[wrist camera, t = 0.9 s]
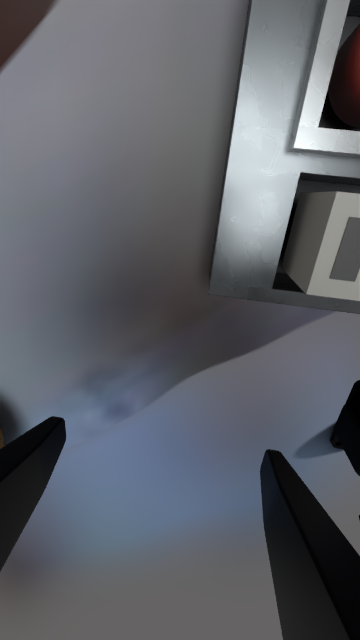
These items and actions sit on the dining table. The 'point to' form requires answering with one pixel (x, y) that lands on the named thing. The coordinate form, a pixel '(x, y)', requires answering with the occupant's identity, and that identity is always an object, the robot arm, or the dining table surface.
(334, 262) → the on key
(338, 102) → the button
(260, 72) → the grey flat box
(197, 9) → the dining table surface
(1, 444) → the potato
